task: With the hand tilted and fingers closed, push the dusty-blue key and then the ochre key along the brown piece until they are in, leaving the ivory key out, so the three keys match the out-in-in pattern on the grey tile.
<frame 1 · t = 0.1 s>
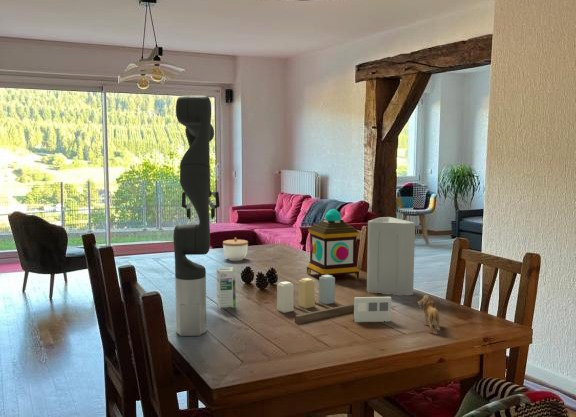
hand: (200, 218, 214), 29 cm above the table, tool pointing down, fingers open, 8 cm apart
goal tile: (372, 321, 184), on the table
lidded bowl: (235, 259, 284), on the table
decorative lantern: (332, 277, 247), on the table
ochre key: (306, 292, 196), point 6 cm above the table, slide at 0.0 cm
white paneled column: (384, 290, 223), on the table
lion figurine: (430, 327, 178), on the table
ivory key: (285, 296, 191), point 6 cm above the table, slide at 0.0 cm
brown piece: (313, 312, 193), on the table
syrup box: (226, 309, 197), on the table
blue key: (326, 289, 201), point 6 cm above the table, slide at 0.0 cm
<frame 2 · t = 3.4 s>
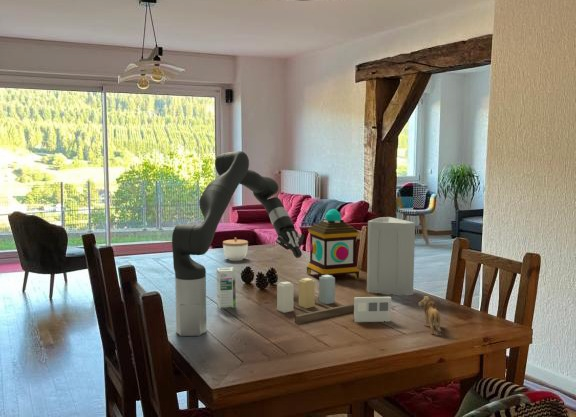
hand: (299, 256, 214), 15 cm above the table, tool tilted 45°, fingers closed
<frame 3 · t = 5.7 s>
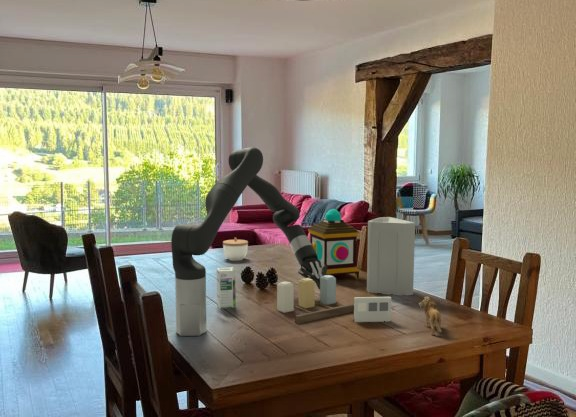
hand: (323, 288, 202), 6 cm above the table, tool tilted 45°, fingers closed
blue key: (327, 289, 200), point 6 cm above the table, slide at 0.6 cm, touching gripper
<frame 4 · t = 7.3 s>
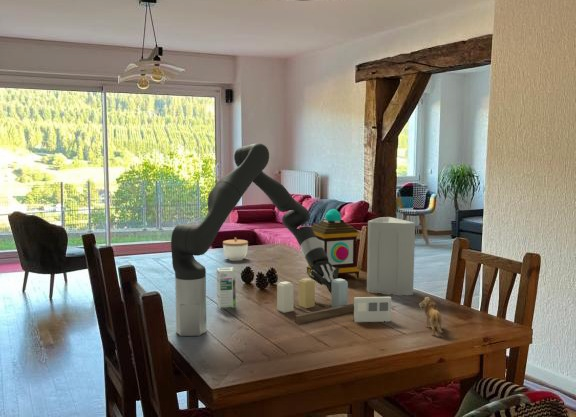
hand: (334, 292, 197), 6 cm above the table, tool tilted 45°, fingers closed
blue key: (339, 293, 195), point 6 cm above the table, slide at 7.0 cm, touching gripper
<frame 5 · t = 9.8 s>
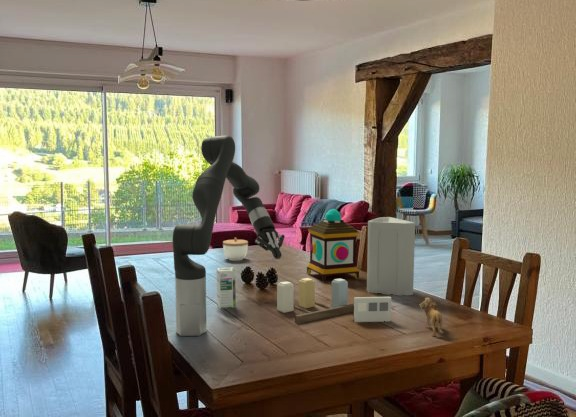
hand: (278, 257, 209), 16 cm above the table, tool tilted 45°, fingers closed
blue key: (339, 293, 195), point 6 cm above the table, slide at 7.0 cm
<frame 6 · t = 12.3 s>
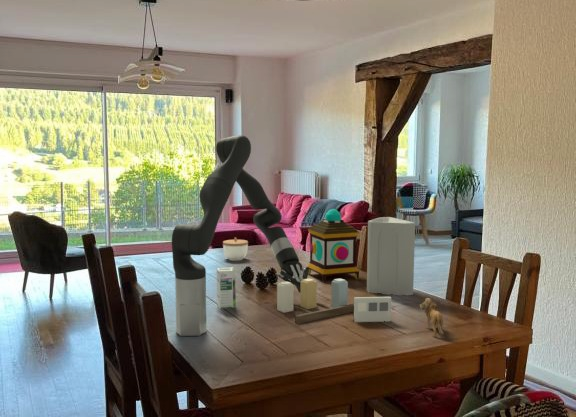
hand: (304, 292, 197), 6 cm above the table, tool tilted 45°, fingers closed
ochre key: (308, 293, 195), point 6 cm above the table, slide at 1.1 cm, touching gripper
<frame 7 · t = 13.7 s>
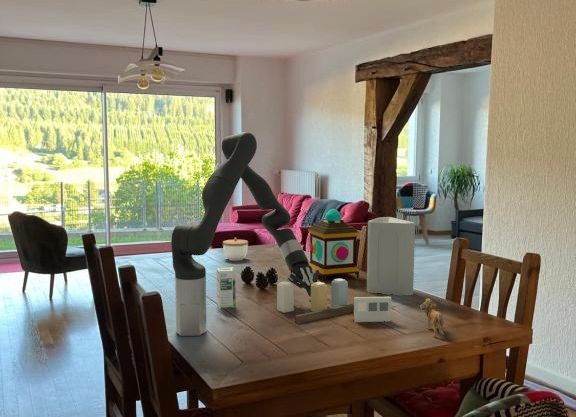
hand: (314, 296, 192), 6 cm above the table, tool tilted 45°, fingers closed
ochre key: (318, 297, 190), point 6 cm above the table, slide at 7.0 cm, touching gripper
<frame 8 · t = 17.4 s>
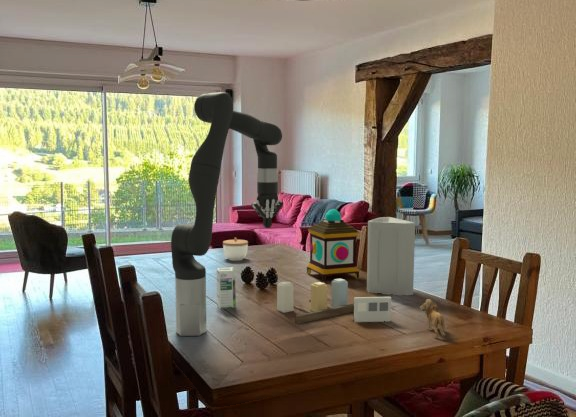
hand: (267, 227, 207), 27 cm above the table, tool pointing down, fingers closed
ochre key: (318, 297, 190), point 6 cm above the table, slide at 7.0 cm
at the end: blue key slide at 7.0 cm; ochre key slide at 7.0 cm; ivory key slide at 0.0 cm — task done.
